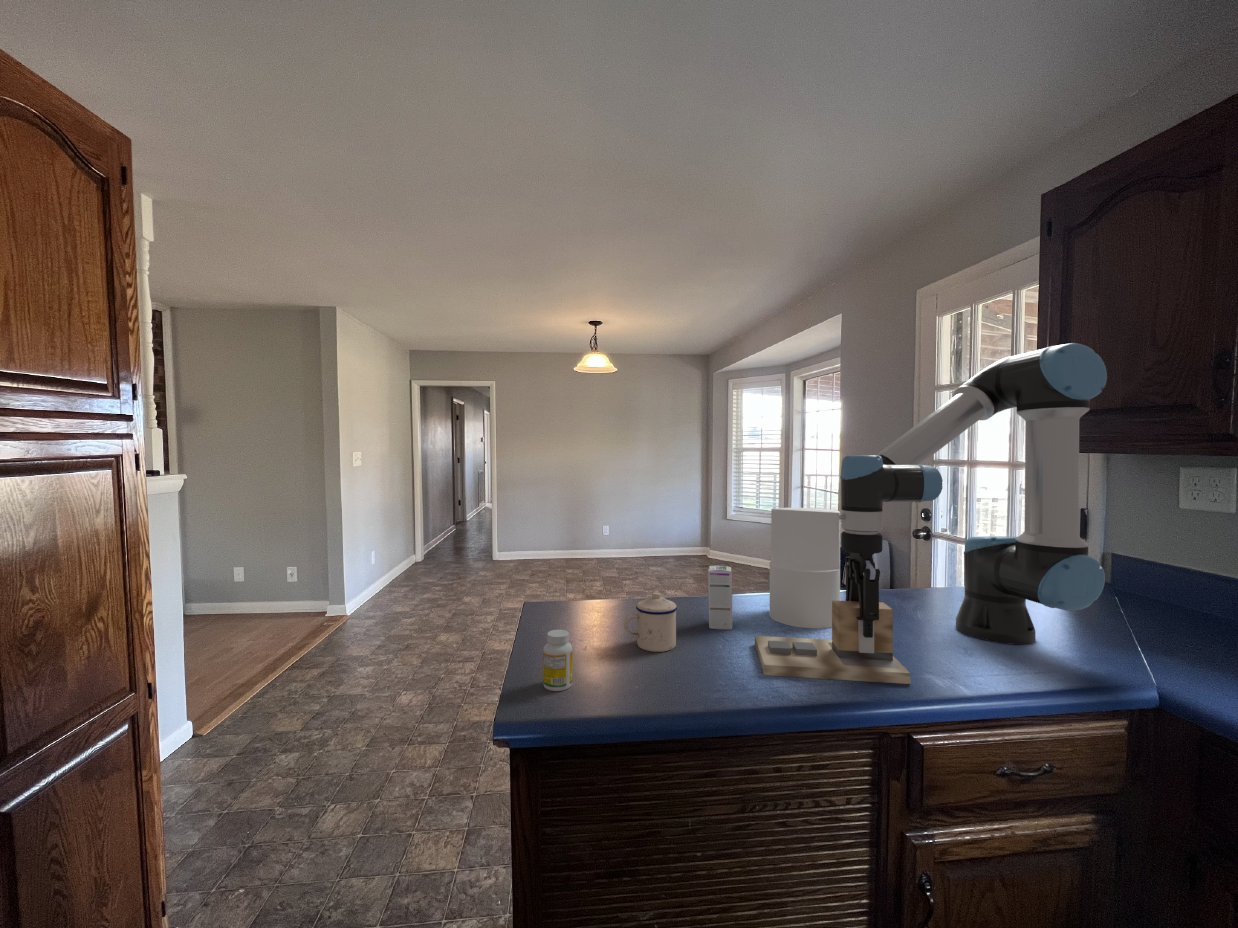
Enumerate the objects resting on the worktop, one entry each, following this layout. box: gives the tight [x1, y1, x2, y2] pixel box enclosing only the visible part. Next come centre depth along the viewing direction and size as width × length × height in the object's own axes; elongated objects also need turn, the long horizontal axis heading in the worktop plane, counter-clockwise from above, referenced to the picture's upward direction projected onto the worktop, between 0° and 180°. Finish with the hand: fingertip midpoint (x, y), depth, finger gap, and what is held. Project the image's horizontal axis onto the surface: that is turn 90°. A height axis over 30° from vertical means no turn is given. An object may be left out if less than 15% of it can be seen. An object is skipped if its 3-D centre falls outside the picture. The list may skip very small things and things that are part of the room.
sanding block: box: [831, 600, 894, 661], centre depth 101 cm, size 10×5×10 cm, turn 81°
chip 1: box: [768, 641, 791, 655], centre depth 103 cm, size 4×4×1 cm
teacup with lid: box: [623, 591, 678, 653], centre depth 111 cm, size 12×9×12 cm
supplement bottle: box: [542, 629, 574, 692], centre depth 92 cm, size 5×5×10 cm
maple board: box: [754, 635, 911, 685], centre depth 102 cm, size 26×16×2 cm, turn 81°
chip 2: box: [792, 642, 817, 656], centre depth 103 cm, size 4×4×1 cm
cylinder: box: [769, 507, 841, 630], centre depth 131 cm, size 17×17×28 cm
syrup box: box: [707, 565, 733, 631], centre depth 125 cm, size 6×6×14 cm
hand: (861, 646), depth 101 cm, fingers closed on sanding block, 5 cm apart
